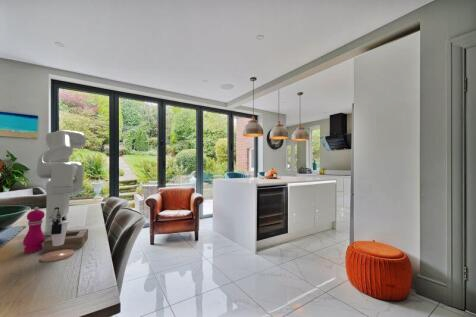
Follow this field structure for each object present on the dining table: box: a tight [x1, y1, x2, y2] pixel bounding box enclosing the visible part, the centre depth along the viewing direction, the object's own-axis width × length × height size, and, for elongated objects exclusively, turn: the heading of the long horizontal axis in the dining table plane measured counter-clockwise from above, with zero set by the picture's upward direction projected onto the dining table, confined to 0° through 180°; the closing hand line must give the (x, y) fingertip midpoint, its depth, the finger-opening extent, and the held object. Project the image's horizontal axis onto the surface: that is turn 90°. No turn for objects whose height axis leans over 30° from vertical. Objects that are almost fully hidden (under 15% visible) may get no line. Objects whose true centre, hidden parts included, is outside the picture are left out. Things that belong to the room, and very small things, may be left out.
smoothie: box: [50, 216, 70, 246], centre depth 91 cm, size 6×6×14 cm
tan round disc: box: [39, 249, 75, 263], centre depth 90 cm, size 11×11×1 cm
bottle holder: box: [42, 228, 89, 254], centre depth 104 cm, size 16×14×5 cm
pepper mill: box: [22, 206, 46, 254], centre depth 97 cm, size 7×7×20 cm
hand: (59, 231), depth 90 cm, fingers closed on smoothie, 6 cm apart
